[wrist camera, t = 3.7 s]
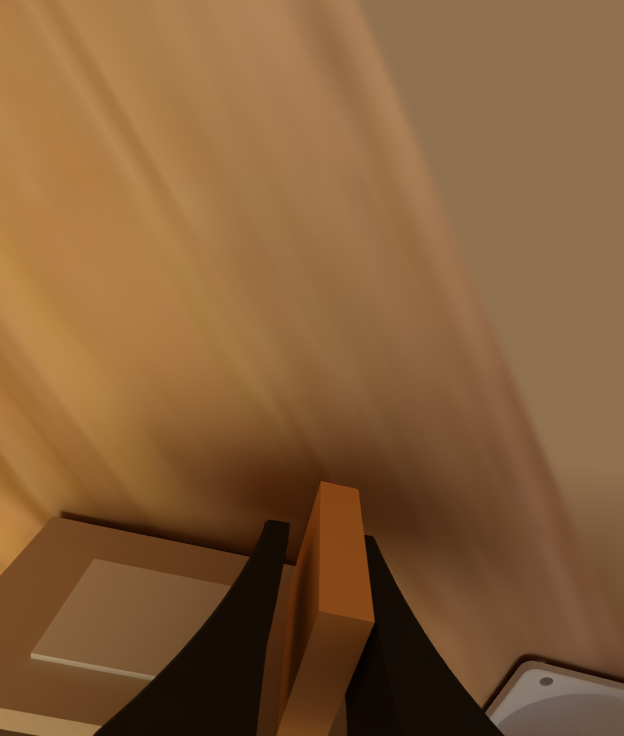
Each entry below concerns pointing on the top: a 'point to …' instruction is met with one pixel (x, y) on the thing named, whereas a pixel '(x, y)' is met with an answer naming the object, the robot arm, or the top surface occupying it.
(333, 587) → the carton flap
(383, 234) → the top surface
